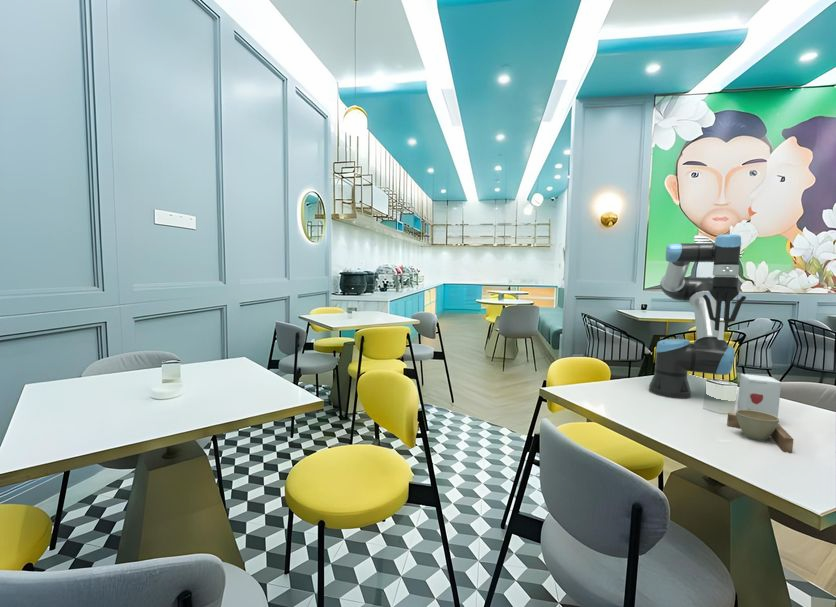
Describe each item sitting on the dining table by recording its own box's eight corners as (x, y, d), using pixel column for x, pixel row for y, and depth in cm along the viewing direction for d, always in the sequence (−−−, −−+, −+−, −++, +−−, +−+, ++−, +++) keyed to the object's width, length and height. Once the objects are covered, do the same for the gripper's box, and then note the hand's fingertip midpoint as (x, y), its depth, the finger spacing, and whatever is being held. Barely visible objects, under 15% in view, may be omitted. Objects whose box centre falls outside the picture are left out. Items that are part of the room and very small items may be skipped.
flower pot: (736, 428, 127) (738, 407, 127) (778, 438, 120) (780, 415, 120) (732, 436, 120) (733, 414, 120) (775, 447, 113) (777, 423, 113)
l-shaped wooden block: (737, 442, 115) (738, 429, 115) (727, 424, 131) (727, 412, 131) (792, 453, 109) (793, 439, 109) (774, 432, 125) (775, 420, 125)
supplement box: (744, 420, 135) (747, 378, 134) (736, 413, 143) (739, 373, 142) (778, 425, 131) (782, 382, 130) (768, 417, 139) (771, 376, 138)
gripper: (704, 276, 145) (700, 339, 146) (750, 276, 138) (744, 342, 140) (702, 276, 151) (697, 336, 153) (745, 277, 145) (740, 340, 146)
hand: (720, 339), depth 146 cm, fingers closed
